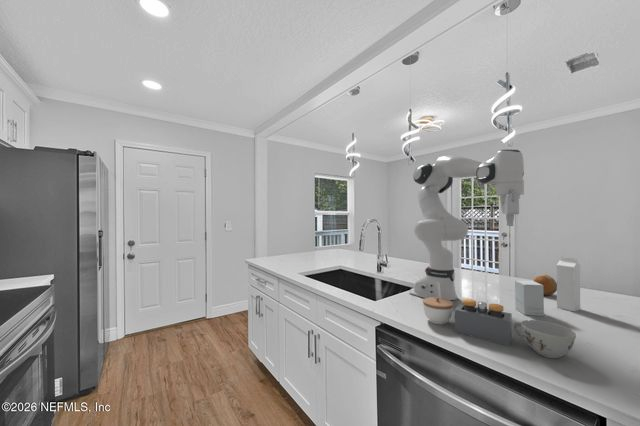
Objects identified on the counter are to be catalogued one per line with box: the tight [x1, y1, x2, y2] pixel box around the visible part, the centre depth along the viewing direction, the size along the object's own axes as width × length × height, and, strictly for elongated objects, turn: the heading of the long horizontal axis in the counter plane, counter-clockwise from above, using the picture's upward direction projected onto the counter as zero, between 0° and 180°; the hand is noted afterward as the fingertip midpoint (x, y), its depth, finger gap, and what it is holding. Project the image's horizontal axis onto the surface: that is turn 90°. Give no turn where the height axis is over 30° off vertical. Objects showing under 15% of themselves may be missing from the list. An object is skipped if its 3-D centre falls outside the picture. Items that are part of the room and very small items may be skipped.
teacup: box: [513, 319, 577, 359], centre depth 82 cm, size 15×12×8 cm
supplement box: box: [514, 280, 545, 317], centre depth 113 cm, size 7×7×13 cm
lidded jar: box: [422, 297, 454, 326], centre depth 105 cm, size 11×11×9 cm
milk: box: [556, 256, 581, 312], centre depth 117 cm, size 6×6×22 cm
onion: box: [532, 274, 557, 296], centre depth 136 cm, size 10×10×10 cm
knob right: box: [488, 303, 504, 318], centre depth 91 cm, size 4×4×9 cm
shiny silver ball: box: [477, 301, 488, 313], centre depth 93 cm, size 3×3×3 cm
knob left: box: [462, 298, 477, 312], centre depth 96 cm, size 4×4×9 cm
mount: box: [454, 303, 513, 347], centre depth 94 cm, size 16×8×8 cm, turn 50°
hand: (510, 226), depth 104 cm, fingers closed
